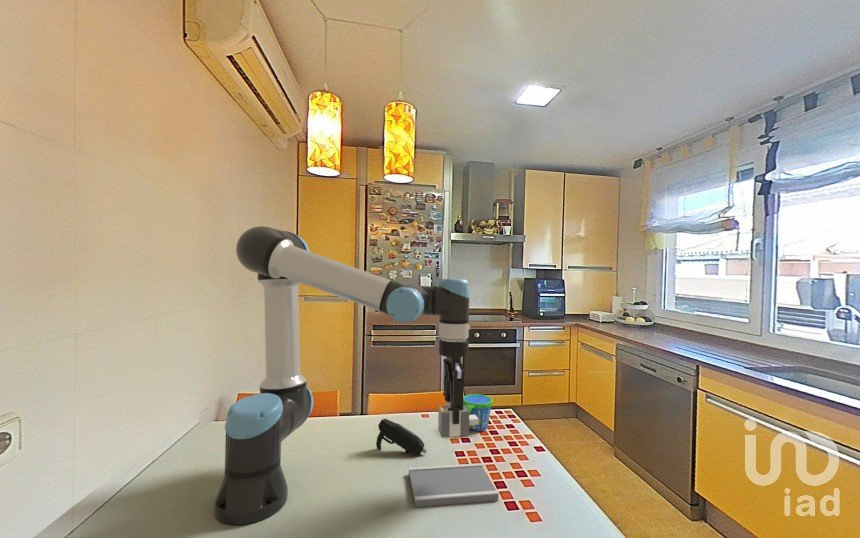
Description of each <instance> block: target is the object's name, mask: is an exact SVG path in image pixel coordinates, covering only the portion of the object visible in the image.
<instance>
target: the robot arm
mask: <svg viewBox="0 0 860 538" xmlns="http://www.w3.org/2000/svg"><path fill="white" fill-rule="evenodd" d="M235 250H236V256H237V259H238V261H239V262H240V264H241V265H242V266H243V267H244V268H245V269H247V270H249V271H250V272H253V273H256V274H257V282H258V283H259V284H260V285H261V286H262V287H263V288H264V289H263V292H264V293H263V294H264V295H263V299H264V337H265V339H264V342H265V343H264V346H265V378H264V379H263V380H262V381H261V382H260V384H259V393H256V394H252V395H251V396H244V397H243V398H239V399H238V400H236V401H235V402H234V403H232V405H230V407H229V408H228V410H227V413H226V421H225V425H224V429H225V430H224V431H225V444H224V447H225V448H224V449H225V450H224V451H225V452H224V476H223V478H222V481H221V484H220V486H219V489H218V492H217V495H216V498H215V500H214V516H215V518H216V519H217V521H218V522H221V523H222V524H225V525H233V526H240V525H241V526H242V525H248V524H253V523H257V522H260V521H263V520H265V519H268V518H269V517H271V516H273V515H274V514H276V513H277V512H279V511H280V510H281V509H282V508H283V507H284V506H285V504H286V503H287V501H288V495H289V494H288V492H289V491H288V490H289V489H288V483H287V481H286V480H287V479H286V478H285V474H284V472H283V468H282V465H281V460H282V459H281V458H282V457H281V456H282V455H281V454H282V442H283V441H284V440H285V439H287V437H289V436H290V435H291V434H292V433H293V432H295V430H297V429H298V428H300V427H301V426H303V424H304V423H305V422H306V421H307V420H308V418H309V417H310V415H311V413H312V411H313V408H314V396H313V393H312V391H311V389H309V388H308V385H307V378H306V377H305V376H304V375H303V374H301V351H300V350H301V349H300V348H301V347H300V308H299V307H300V306H299V286H300V285H301V284H303V285H305V286H308V287H311V288H313V289H316V290H319V291H322V292H325V293H328V294H331V295H332V296H336V297H339V298H342V299H344V300H346V301H347V300H348V301H350V302H353V303H356V304H358V305H361V306H364V307H367V308H369V309H373V310H375V311H378V312H380V313H383V314H384V315H388V316H390V318H392V319H393V320H394V321H395V322H399V323H410V322H413V321H415V320H417V319H418V318H419V317H420V316H439V322H438V338H440V339H439V341H438V353H439V355H441V356H442V357H445V358H443V360H442V362H443V393H442V395H443V397H444V401H445V403H444V406H451V407H450V408H448V411H449V437H448V438H456V437H457V436H458V437H461V436H460V424H461V410H463V397H464V396H465V395H464V394H465V393H464V392H465V391H464V388H465V385H464V384H465V373H466V372H465V369H464V367H463V363H462V359H461V358H462V357H464V358H465V357H466V356H468V355H469V344H470V343H469V342H470V341H469V340H467V339H468V338H469V331H470V330H471V329H472V328H471V325H469V320H470V284H469V282H468V280H467V279H464V278H441V279H440V281H439V285H436V286H435V285H433V286H429V285H410V284H403V283H400V282H398V281H394V280H390V279H388V278H386V277H382V276H379V275H377V274H374V273H371V272H368V271H366V270H363V269H359V268H357V267H354V266H351V265H349V264H345V263H343V262H340V261H338V260H334V259H332V258H330V257H329V258H328V257H326V256H324V255H323V256H322V255H320V254H319V253H318V254H317V253H315V252H312V251H310V249H309V246H308V244H307V243H306V241H305V240H304V239H303V238H302V237H301V236H299V235H297V234H295V233H293V232H291V231H287V230H282V229H278V228H272V227H270V226H264V225H263V226H255V227H251V228H249V229H247V230H246V231H244V232H243V233H242V234H241V235H240V237H239V238H238V240H237V243H236V248H235Z"/></svg>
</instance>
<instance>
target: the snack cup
mask: <svg viewBox="0 0 860 538" xmlns="http://www.w3.org/2000/svg"><path fill="white" fill-rule="evenodd" d="M493 401H494V400H493V399H492V397H490V396H488V395H486V394H480V393H479V394H478V393H474V394H473V393H471V394H466V395H463V405H465V406H466V408H467V409H468V410H469V415H476V416H477V418H478V419H479V425H469V430H471V431H476V432H483V431H485V430H487V429H488V427H489V421H490V416H491V415H490V414H491V411H492V410H491V408H492V406H493Z"/></svg>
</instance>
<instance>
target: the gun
mask: <svg viewBox="0 0 860 538" xmlns="http://www.w3.org/2000/svg"><path fill="white" fill-rule="evenodd" d="M377 427H378V430H379V433H378V435H377V437H376V443H375V444H376V449H377V450H378V451H381V450H382V442H383V441H385V442H386V443H388V444H390V445H393V444H395V445H397V446H399V447H401V448H402V449H403V450H404V451H406V452H407V453H409V454H411V455H412V456H414V457H419V456H420V455H421V454H422V453H424V454H426V453H427V452H428V450H427V449H426V448H425V443H424V441H423V440H422V439H421V438H420V437H419V436H418V435H417V434H416V433H414V432H413V431H412V430H410V429H408V428H407V427H405V426H403V425H401V424H400V423H396V422H394V421H391V419H387V418H382V419H381V420H380V421H379V424H378V425H377Z"/></svg>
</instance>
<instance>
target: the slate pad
mask: <svg viewBox="0 0 860 538" xmlns="http://www.w3.org/2000/svg"><path fill="white" fill-rule="evenodd" d="M408 477H409V483H410V487H411V493H412V498H413V503H414V507H415V508H420V507H432V506H433V507H434V506H445V505H446V506H447V505H457V504H458V505H459V504H470V503H471V504H473V503H484V502H498V501H499V491H498V490H497V489H496V487H495V485H494V484H493V482H492V481H491V479H490V478H489V476H488V474H487V472H486V471H485V468H484V467H483V464H482V463H467V464H463V463H462V464H449V465H437V466H436V465H433V466H417V467H408Z"/></svg>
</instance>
